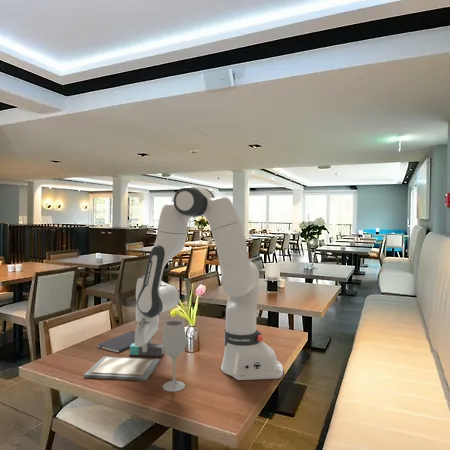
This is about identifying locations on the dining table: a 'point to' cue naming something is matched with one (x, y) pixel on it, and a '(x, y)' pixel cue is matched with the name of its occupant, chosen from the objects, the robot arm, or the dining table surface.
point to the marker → (152, 350)
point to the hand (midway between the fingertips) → (147, 349)
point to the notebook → (119, 342)
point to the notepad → (122, 368)
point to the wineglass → (174, 349)
